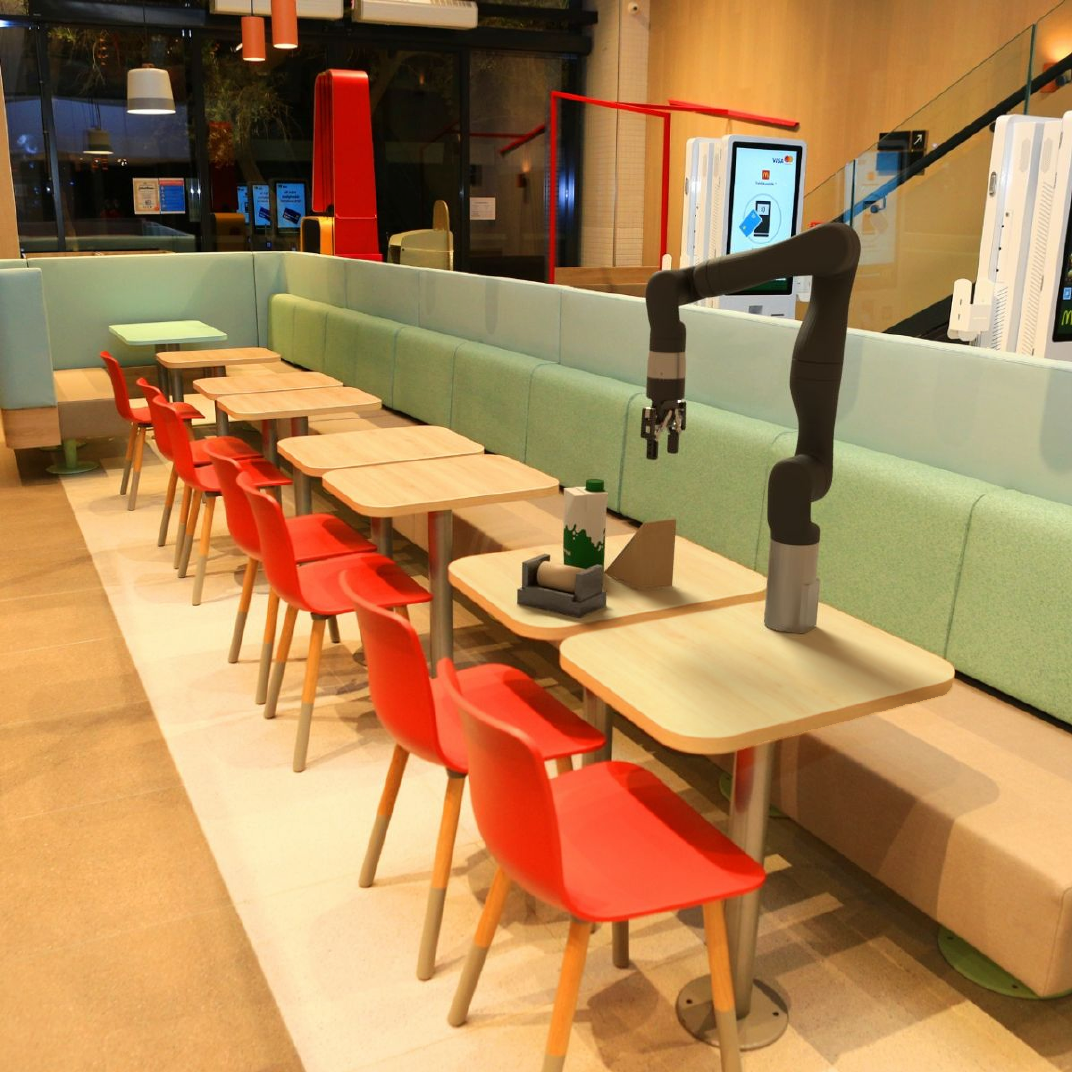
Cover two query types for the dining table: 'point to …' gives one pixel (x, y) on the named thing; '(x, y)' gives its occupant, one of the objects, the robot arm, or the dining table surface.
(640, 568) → the sandwich container
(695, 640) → the dining table surface
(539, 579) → the paper roll
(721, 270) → the robot arm
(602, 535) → the milk carton
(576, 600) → the roll holder
